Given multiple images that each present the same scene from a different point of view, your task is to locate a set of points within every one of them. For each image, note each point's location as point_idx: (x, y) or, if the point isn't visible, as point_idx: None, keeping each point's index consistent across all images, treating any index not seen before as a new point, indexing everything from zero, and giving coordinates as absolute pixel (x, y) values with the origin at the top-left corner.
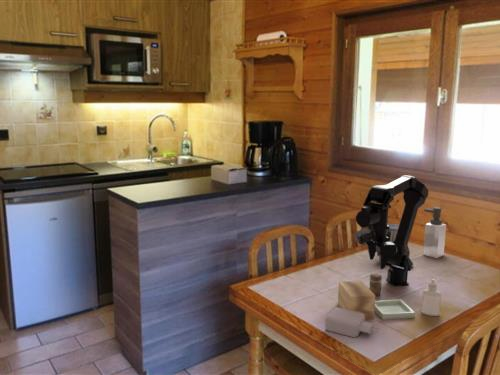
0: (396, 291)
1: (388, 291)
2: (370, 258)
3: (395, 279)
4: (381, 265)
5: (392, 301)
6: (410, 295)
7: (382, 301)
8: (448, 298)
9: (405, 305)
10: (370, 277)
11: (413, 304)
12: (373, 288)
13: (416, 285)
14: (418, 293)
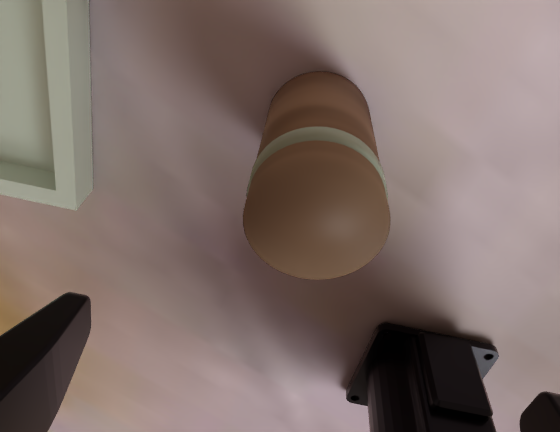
0: (297, 287)
1: None
2: (553, 409)
3: (397, 373)
4: (3, 344)
5: (53, 130)
6: (211, 318)
7: (45, 35)
8: (129, 428)
9: None
10: (341, 152)
11: (78, 256)
12: (284, 110)
13: (327, 416)
14: (224, 366)
